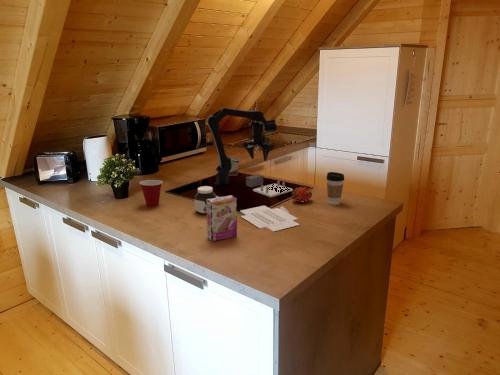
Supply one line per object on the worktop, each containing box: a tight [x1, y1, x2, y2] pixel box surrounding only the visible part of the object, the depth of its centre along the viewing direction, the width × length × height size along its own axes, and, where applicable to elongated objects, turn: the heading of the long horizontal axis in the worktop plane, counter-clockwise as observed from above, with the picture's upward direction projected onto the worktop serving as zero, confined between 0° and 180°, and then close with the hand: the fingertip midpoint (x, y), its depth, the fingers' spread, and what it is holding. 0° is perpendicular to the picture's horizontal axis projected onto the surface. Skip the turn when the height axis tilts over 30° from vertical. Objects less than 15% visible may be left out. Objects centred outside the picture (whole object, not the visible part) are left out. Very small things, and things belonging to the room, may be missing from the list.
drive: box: [245, 174, 264, 188], centre depth 225 cm, size 9×4×5 cm, turn 132°
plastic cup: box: [139, 179, 164, 208], centre depth 193 cm, size 11×11×12 cm
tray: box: [252, 180, 294, 198], centre depth 214 cm, size 16×14×4 cm
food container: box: [228, 157, 240, 177], centre depth 246 cm, size 12×6×10 cm, turn 84°
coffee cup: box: [326, 171, 345, 206], centre depth 193 cm, size 8×8×15 cm
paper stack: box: [239, 205, 301, 233], centre depth 177 cm, size 20×28×4 cm
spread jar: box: [194, 185, 219, 216], centre depth 185 cm, size 12×11×12 cm
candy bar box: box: [206, 194, 238, 243], centre depth 156 cm, size 11×5×16 cm, turn 118°
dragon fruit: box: [291, 186, 313, 204], centre depth 196 cm, size 8×8×12 cm
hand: (259, 160), depth 228 cm, fingers open, 9 cm apart
